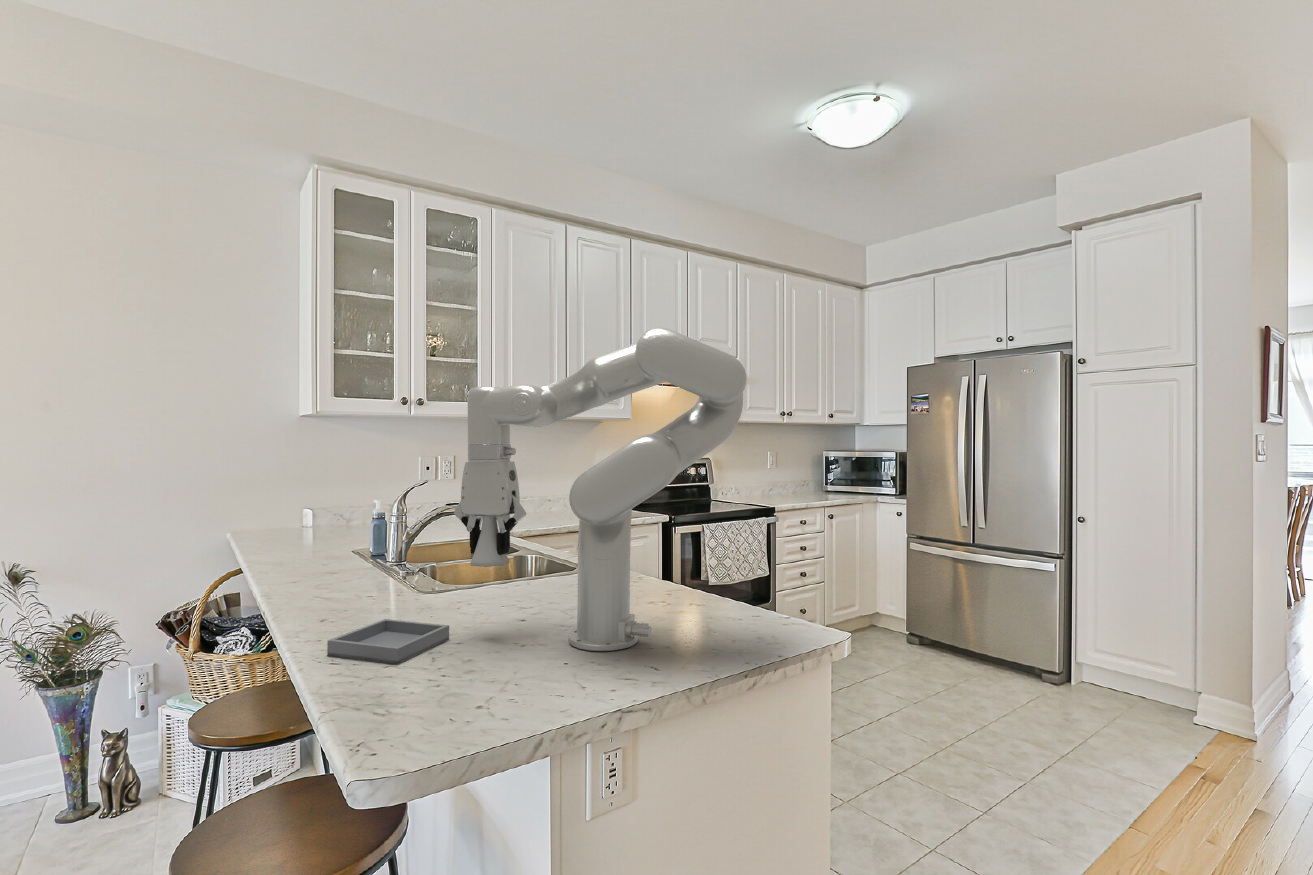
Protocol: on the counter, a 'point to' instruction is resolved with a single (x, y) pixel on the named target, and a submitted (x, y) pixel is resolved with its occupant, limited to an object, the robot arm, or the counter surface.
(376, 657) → the tray
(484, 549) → the flask
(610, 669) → the counter surface
